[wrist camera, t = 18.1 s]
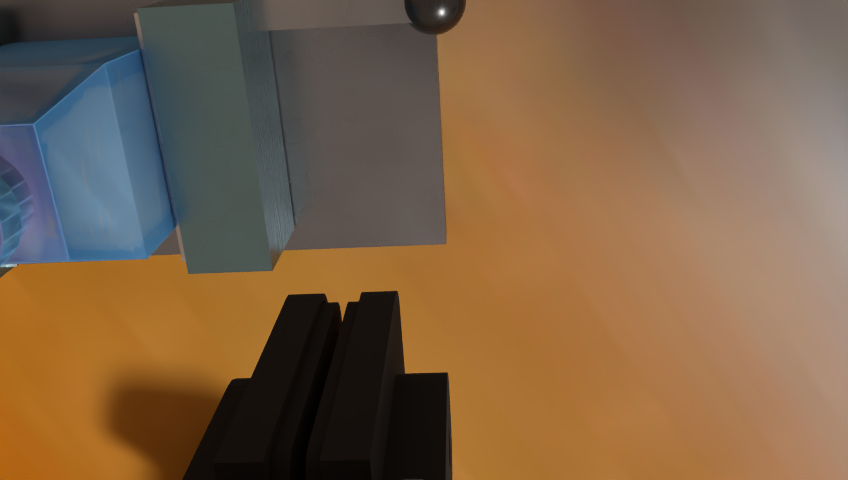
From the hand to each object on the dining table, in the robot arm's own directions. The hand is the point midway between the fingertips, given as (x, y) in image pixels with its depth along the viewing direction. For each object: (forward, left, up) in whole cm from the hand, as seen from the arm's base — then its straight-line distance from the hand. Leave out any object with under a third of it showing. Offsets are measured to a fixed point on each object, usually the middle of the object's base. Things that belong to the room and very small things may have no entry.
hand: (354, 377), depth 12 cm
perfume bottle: (+12, 0, -18) cm, 22 cm away
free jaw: (+3, 0, -18) cm, 18 cm away
